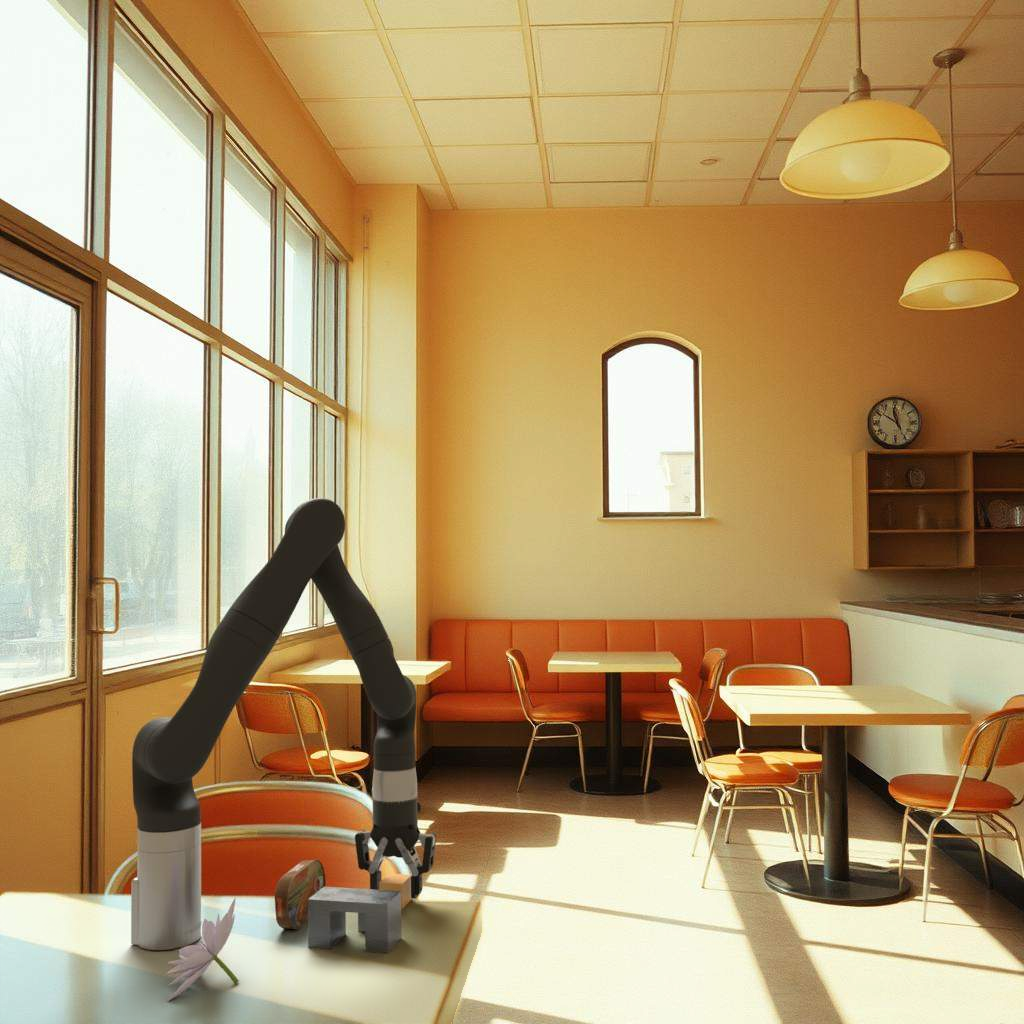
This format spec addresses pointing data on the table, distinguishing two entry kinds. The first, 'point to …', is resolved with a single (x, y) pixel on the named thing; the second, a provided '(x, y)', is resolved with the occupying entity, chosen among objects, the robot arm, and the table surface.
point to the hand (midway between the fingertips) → (396, 895)
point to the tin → (297, 893)
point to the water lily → (204, 952)
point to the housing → (335, 902)
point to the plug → (395, 884)
